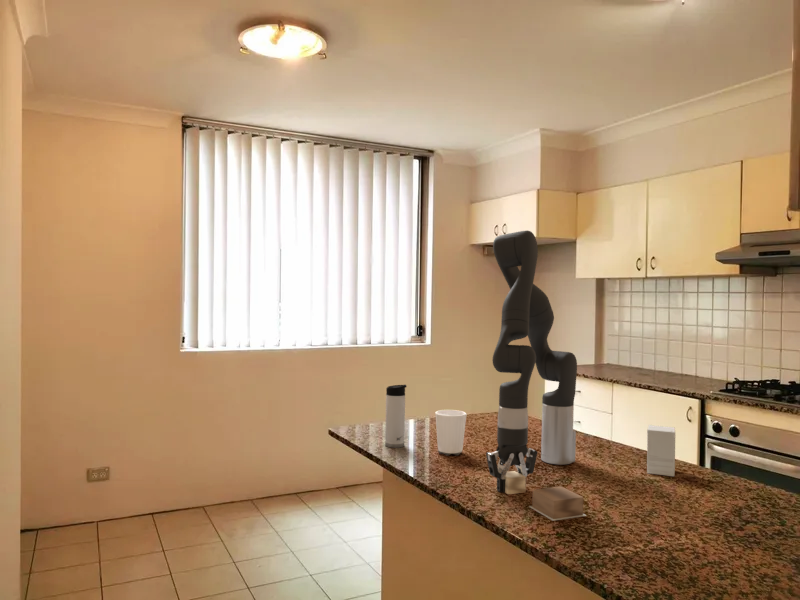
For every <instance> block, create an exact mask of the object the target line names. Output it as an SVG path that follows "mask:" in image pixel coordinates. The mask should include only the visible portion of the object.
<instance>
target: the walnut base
mask: <svg viewBox="0 0 800 600" xmlns="http://www.w3.org/2000/svg"><path fill="white" fill-rule="evenodd" d="M531 496H532V499H531V500H532V503H531V504H532V505H531V506H532V507H533V508H535V509H537V510H538V511H540V512H542V513H544V514H545V515H547V516H549V517H550V518H552V519H558V518H565V517H572V516H579V515H583V514H584V496H582V495H580V494H578V493H577V492H575V491H572V490H570V489H568V488H565V487H564V486H562V485H560V486H559V485H558V486H551V487H544V488H536V489H532V495H531Z"/></svg>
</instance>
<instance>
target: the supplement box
mask: <svg viewBox="0 0 800 600" xmlns="http://www.w3.org/2000/svg"><path fill="white" fill-rule="evenodd" d="M646 431H647V433H646V435H647V437H646V439H647V441H646V442H647V446H646V448H647V451H646V453H647V454H646V465H647V466H646V473H647V474H651V475H658V476H659V475H660V476H666V477H667V476H668V477H675V471H676V469H675V468H676V428H675V427H674V426H663V425H652V424H648V427H647V430H646Z"/></svg>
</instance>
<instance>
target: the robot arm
mask: <svg viewBox="0 0 800 600" xmlns="http://www.w3.org/2000/svg"><path fill="white" fill-rule="evenodd" d="M492 247H493V248H492V249H493V250H492V251H493V253H494V254H493V255H494V257H495V261H496V263H497V265H498V267H499V269H500V271H501V274H502V275H503V277H504V280H505V281H506V283H507V285H508V287H509V291H508V293H507V294H506V296H505V298H504V300H503V302H502V303H503V304H502V307H501V325H500V333H499V337H498V341H497V343H496V345H495V346H496V347H495V349H494V352H493V355H492V365H493V368H494V369H495V370H496V371H497V372H499V373H507V374H520V376H519V377H518V378H517V379H515V380H511V381H506V382H503V383H501V384H500V386H499V388H498V389H499V391H498V392H499V394H498V398H499V399H498V410H497V411H498V412H497V429H496V430H497V433H496V434H497V436H496V441H497V447H496V450H495V451H492V452H489V451H487V452H486V453H485V456H486V460H487V461H486V462H487V466H488V471H489V474H490V475H491V476H492V477H494V478H496V490H497V492H499V493H503V494H506V493H505V476H506V473H507V472H509V470H510V467H512V466H515V468H516V470H517V471H516V472H518V473H520V474H522V475H524V476H526V477H528V475H532V474H534V471H535V465H536V462H537V458H538V453H539V452H538V450H535V449H533V448H531V447H529V448H528V446H527V445H528V443H529V442H528V441H529V440H528V437H529V413H528V403H529V402H528V397H529V396H528V395H529V385H530V381H531V378H532V375H533V371H534V369H535V367H536V369H537V372H538V375H539V377H541V378H542V380H545V381H549V382H550V381H551V382H557V383H558V387H557V388H556V389H554V390H552V391H548V392H544V393H543V394H542V397H541V398H542V400H541V403H542V404H541V406H542V407H541V442H540V444H541V446H540V447H541V448H540V449H541V450H540V451H541V452H540V460H541V461H542V462H544V463H547V464H550V465H551V464H552V465H570V464H572V463H575V462H576V447H577V445H576V444H577V443H576V442H577V441H576V438H577V435H576V434H577V432H576V429H574V405H575V402H574V401H575V397H576V387H577V374H578V362H577V358H576V354H574V353H573V352H569V351H560V350H552V349H551V347H550V345H549V342H548V337H549V334H550V332H551V330H552V327H553V324H554V319H555V317H554V310H553V308H552V305H551V303H550V300H549V297H548V295H547V294H546V293H545V292H544V291H543V290H542V289H540V287H538V286H537V285H536V284H534V280H535V276H536V275H535V274H536V268H537V262H538V256H539V255H538V254H539V252H538V251H539V250H538V247H539V246H538V242H537V238H536V236H535V235H534V233H533V232H532V231H531V230H520V231H516V232H515V231H514V232H510V233H509V232H508V233H505V234H501V235H498V236H496V237H495V238H494V240H493V243H492ZM519 267H520V269H519ZM527 337H528V341H529V344H530V345H525V344H522V345H521V344H520V345H519V344H511V342H513V341H516V340H522V339H525V338H527ZM525 457H526V458H525ZM498 458H499V460H498ZM497 462H498V463H497Z"/></svg>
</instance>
